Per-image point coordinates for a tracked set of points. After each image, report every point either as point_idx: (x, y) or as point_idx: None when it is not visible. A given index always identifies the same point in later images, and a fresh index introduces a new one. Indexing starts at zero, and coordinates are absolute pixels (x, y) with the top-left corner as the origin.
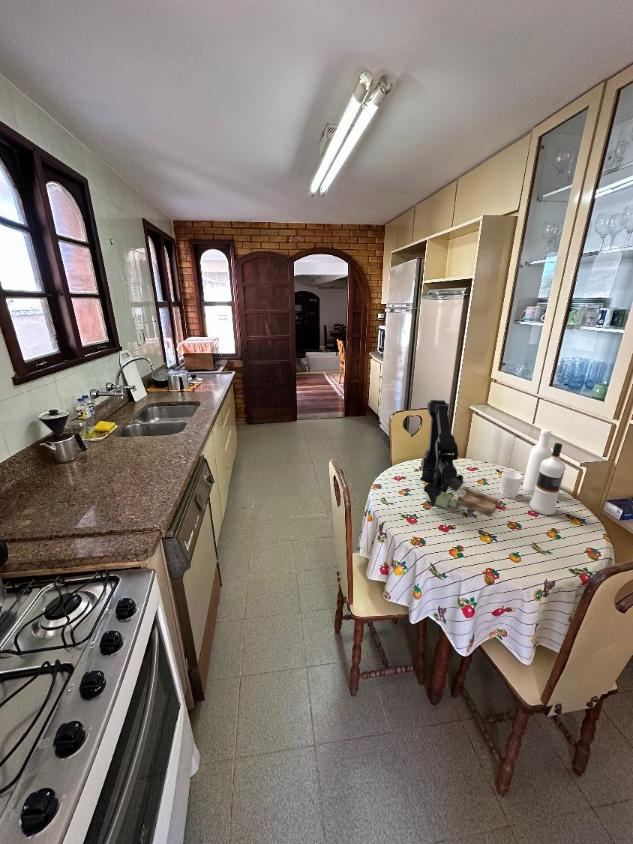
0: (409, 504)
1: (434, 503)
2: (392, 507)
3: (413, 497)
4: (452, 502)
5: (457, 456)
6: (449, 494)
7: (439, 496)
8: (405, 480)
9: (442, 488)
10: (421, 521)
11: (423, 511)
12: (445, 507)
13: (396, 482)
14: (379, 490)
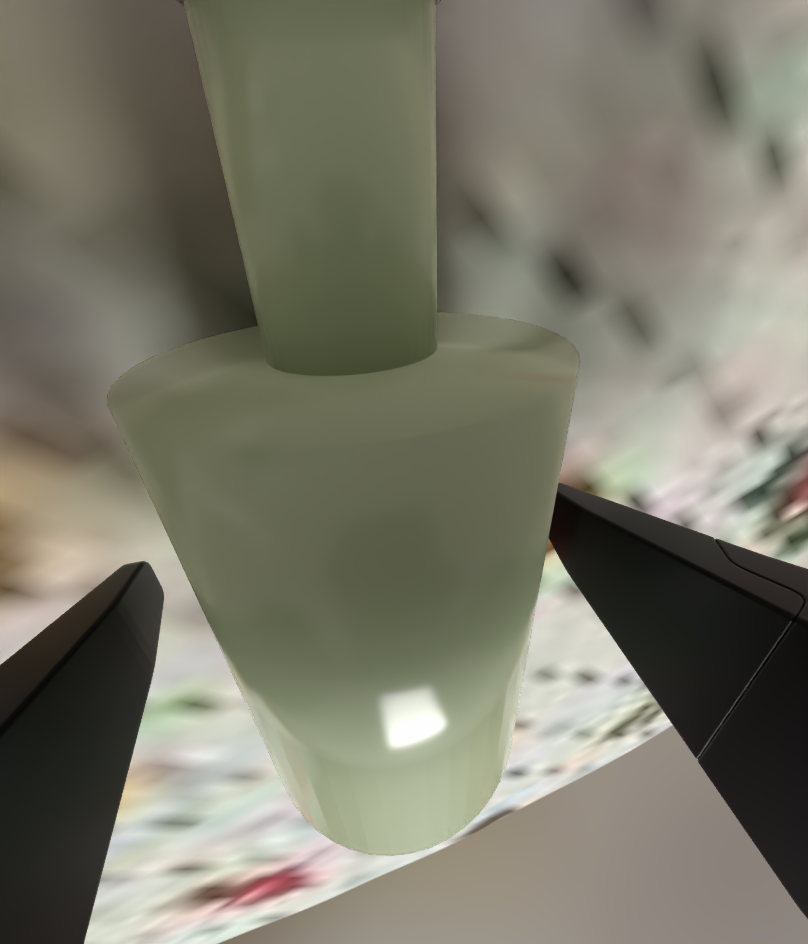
0: (596, 625)
1: (596, 499)
2: None
3: None
4: (419, 181)
5: None
6: (285, 501)
7: (538, 586)
8: (234, 868)
9: (84, 792)
10: None
11: (655, 484)
12: (473, 317)
13: (337, 851)
14: (534, 795)
